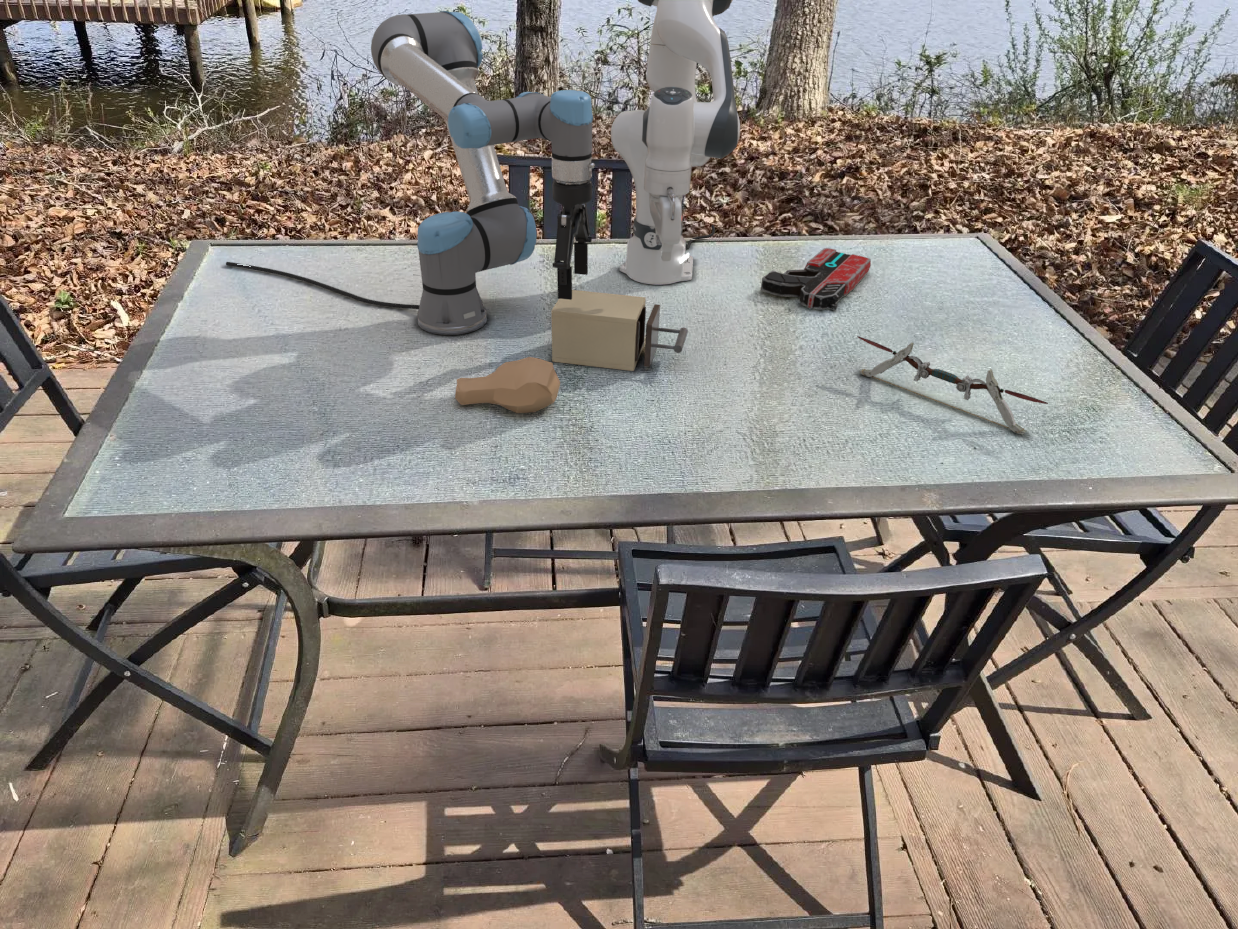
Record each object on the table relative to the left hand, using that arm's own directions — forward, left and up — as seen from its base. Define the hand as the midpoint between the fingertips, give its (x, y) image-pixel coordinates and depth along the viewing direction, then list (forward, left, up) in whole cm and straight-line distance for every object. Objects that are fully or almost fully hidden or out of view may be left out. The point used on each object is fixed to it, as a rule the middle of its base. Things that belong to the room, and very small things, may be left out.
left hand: (573, 285), depth 178 cm
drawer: (+10, +7, -14) cm, 19 cm away
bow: (+64, +39, -15) cm, 76 cm away
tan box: (+4, +3, -15) cm, 16 cm away
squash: (+9, -24, -15) cm, 30 cm away
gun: (+13, +71, -15) cm, 73 cm away
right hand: (+12, +13, +7) cm, 19 cm away
